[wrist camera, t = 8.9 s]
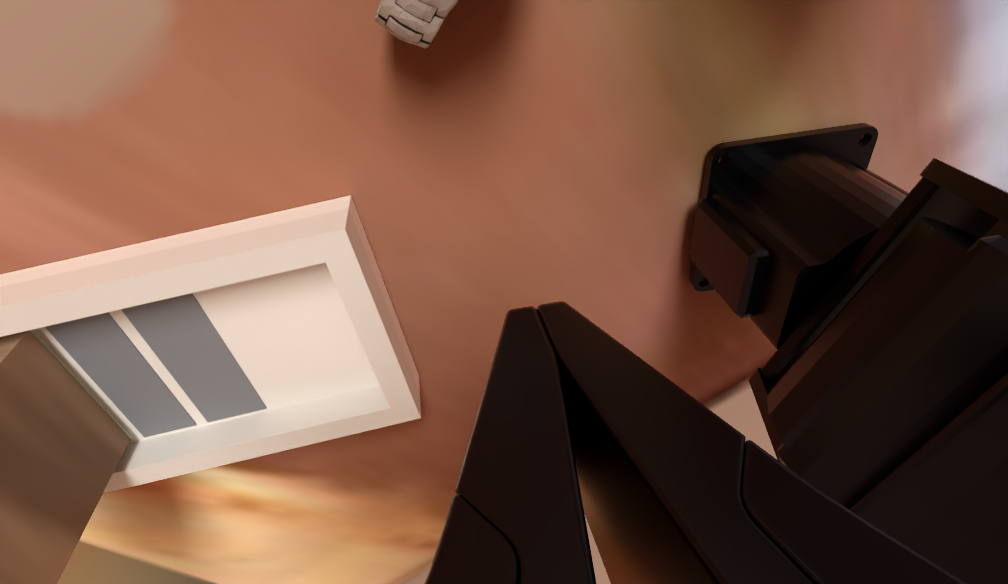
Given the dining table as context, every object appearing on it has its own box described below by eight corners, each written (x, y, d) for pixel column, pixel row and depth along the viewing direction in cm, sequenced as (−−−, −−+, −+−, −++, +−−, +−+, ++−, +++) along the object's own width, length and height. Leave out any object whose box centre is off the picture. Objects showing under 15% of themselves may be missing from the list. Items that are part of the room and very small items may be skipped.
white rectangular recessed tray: (351, 195, 19) (344, 229, 17) (419, 376, 24) (420, 418, 22) (-133, 304, 19) (-198, 352, 17) (46, 463, 24) (14, 514, 22)
